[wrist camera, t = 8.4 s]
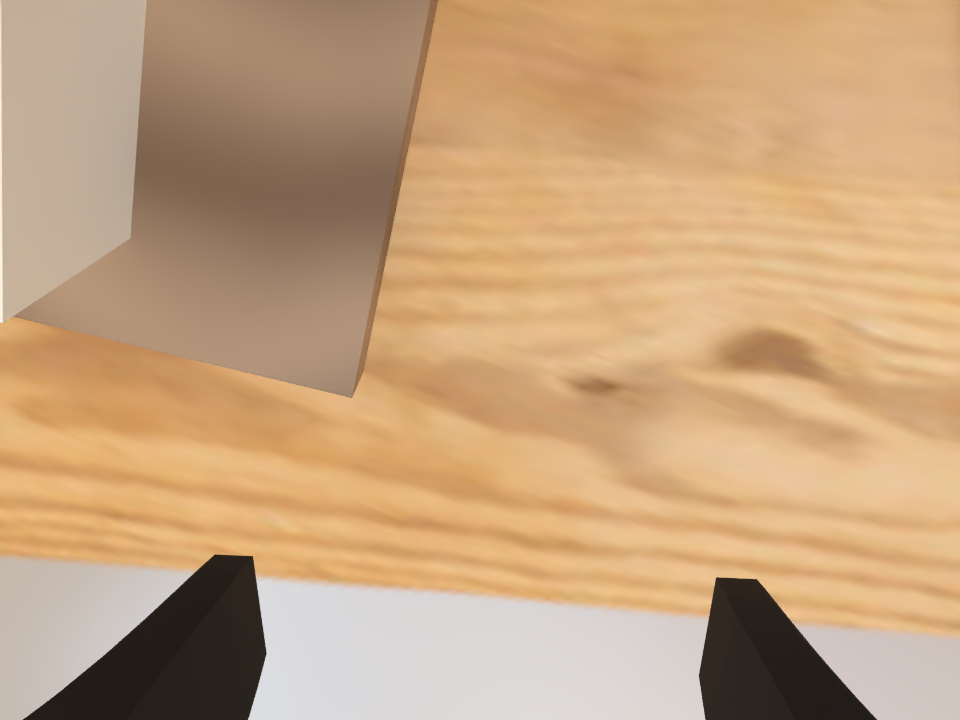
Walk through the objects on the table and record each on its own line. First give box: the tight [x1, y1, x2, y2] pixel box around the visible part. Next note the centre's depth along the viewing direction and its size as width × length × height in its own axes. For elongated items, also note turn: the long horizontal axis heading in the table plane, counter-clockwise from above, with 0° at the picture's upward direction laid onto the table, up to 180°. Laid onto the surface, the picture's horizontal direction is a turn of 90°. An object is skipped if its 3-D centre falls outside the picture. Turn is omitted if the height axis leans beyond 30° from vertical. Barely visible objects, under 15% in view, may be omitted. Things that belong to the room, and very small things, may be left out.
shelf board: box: [13, 0, 438, 398], centre depth 18 cm, size 11×14×2 cm
